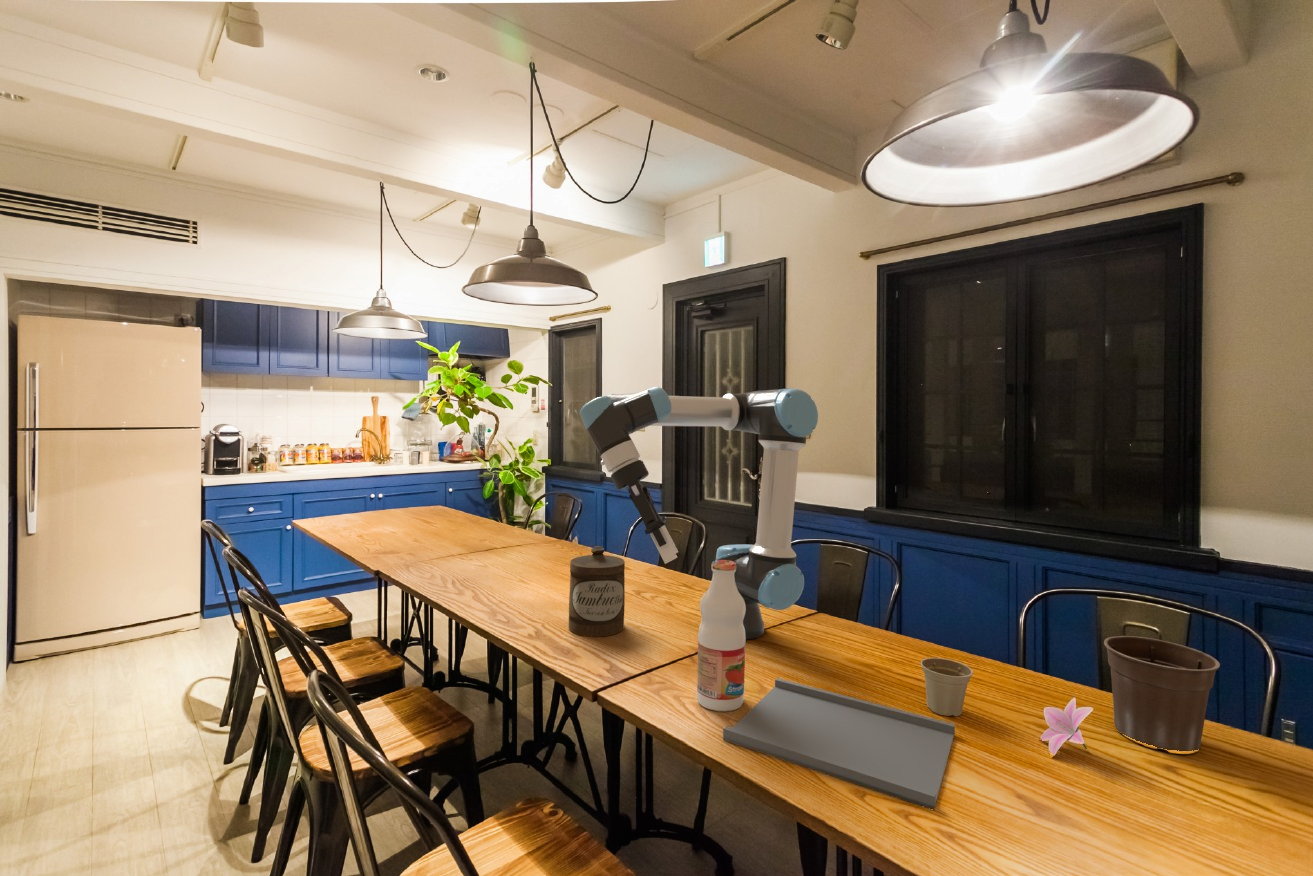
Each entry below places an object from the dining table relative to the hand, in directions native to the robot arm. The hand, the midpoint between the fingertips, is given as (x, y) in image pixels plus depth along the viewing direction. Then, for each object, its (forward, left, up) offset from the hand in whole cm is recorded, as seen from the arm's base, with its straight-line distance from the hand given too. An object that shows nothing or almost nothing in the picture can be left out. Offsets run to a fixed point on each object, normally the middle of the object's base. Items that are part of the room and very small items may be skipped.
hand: (672, 557), depth 124 cm
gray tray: (-11, +33, -28) cm, 45 cm away
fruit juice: (-4, +10, -28) cm, 30 cm away
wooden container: (-11, -40, -28) cm, 50 cm away
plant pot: (-55, +71, -28) cm, 94 cm away
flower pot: (-36, +41, -28) cm, 62 cm away
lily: (-37, +61, -28) cm, 77 cm away
